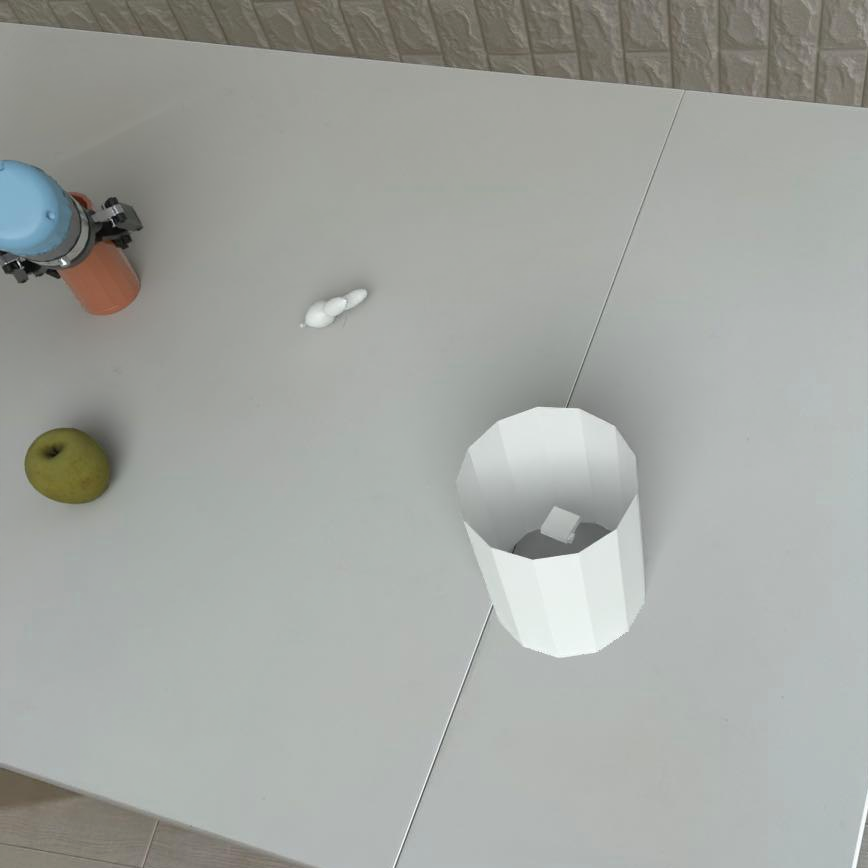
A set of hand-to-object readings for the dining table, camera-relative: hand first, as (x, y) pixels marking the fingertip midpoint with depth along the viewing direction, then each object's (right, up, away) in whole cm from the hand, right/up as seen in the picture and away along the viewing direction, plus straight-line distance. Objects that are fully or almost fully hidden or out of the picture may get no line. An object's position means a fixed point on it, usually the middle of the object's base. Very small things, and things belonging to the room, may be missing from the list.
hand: (87, 252), depth 124 cm
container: (+56, -39, -26) cm, 73 cm away
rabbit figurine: (+31, -10, -6) cm, 33 cm away
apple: (+6, -29, -13) cm, 32 cm away
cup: (+2, -4, +1) cm, 5 cm away
